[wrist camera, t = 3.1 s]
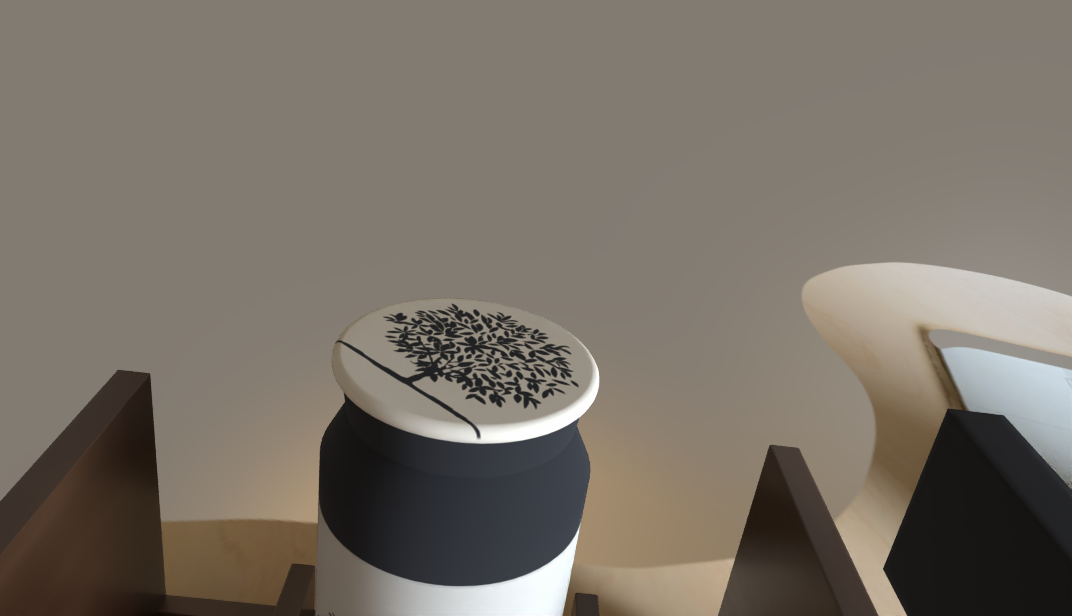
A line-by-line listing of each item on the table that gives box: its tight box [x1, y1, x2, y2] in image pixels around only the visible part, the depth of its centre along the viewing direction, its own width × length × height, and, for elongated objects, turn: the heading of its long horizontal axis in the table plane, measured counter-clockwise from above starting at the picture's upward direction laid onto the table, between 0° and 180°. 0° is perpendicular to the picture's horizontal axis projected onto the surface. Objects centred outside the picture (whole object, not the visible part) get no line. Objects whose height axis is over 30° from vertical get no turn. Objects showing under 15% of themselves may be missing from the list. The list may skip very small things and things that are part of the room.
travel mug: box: [315, 298, 599, 616], centre depth 28 cm, size 8×8×18 cm
